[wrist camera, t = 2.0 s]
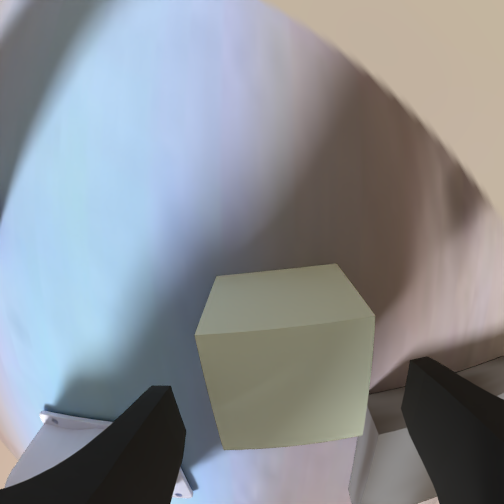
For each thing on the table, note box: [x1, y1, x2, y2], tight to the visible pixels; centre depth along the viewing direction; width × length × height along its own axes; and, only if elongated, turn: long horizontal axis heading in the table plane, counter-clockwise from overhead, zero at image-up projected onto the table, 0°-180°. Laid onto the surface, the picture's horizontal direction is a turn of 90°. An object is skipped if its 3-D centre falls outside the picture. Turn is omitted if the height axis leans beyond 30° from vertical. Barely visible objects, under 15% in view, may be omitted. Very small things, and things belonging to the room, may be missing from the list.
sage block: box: [195, 264, 375, 450], centre depth 11 cm, size 5×5×5 cm
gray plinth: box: [348, 356, 504, 504], centre depth 14 cm, size 10×10×3 cm
